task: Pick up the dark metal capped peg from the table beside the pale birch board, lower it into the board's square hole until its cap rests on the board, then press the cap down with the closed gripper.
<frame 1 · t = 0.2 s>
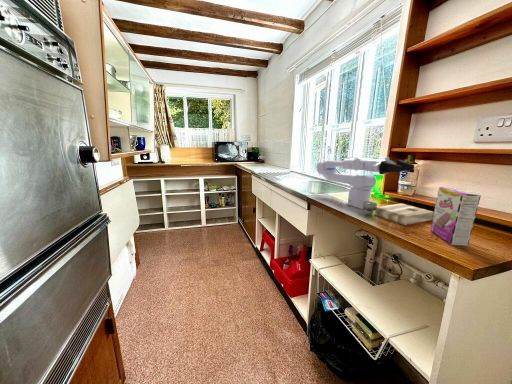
hand: (407, 168, 83), 21 cm above the countertop, tool horizontal, fingers open, 7 cm apart
board: (402, 217, 90), on the countertop
peg: (368, 215, 91), on the countertop
candy bar box: (447, 239, 70), on the countertop
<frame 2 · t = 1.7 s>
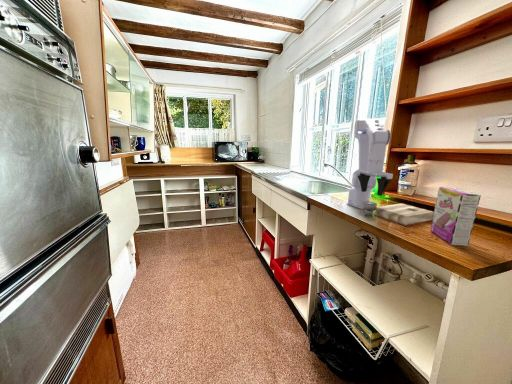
hand: (371, 193, 89), 10 cm above the countertop, tool pointing down, fingers open, 7 cm apart
nothing on the countertop moved.
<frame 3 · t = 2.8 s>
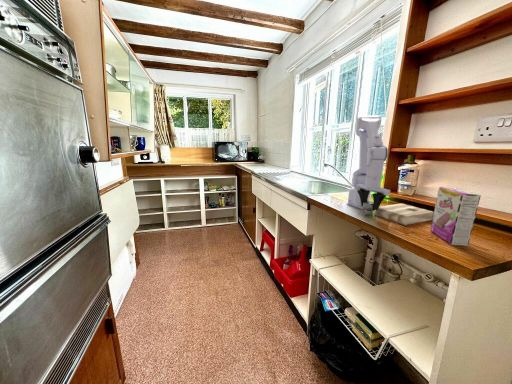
hand: (369, 208, 90), 4 cm above the countertop, tool pointing down, fingers closed on peg, 5 cm apart
peg: (368, 215, 91), on the countertop, touching gripper
everything else where it was.
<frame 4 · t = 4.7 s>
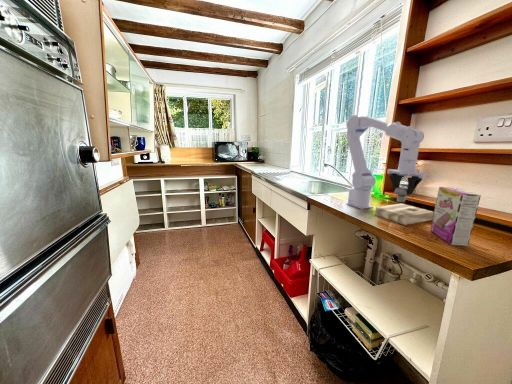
hand: (402, 193, 88), 10 cm above the countertop, tool pointing down, fingers closed on peg, 5 cm apart
peg: (400, 201, 88), point 7 cm above the countertop, touching gripper
everything else where it was.
when the fingers open (5 cm above the countertop, at t = 6.9 s): peg drops 1 cm, resting on board.
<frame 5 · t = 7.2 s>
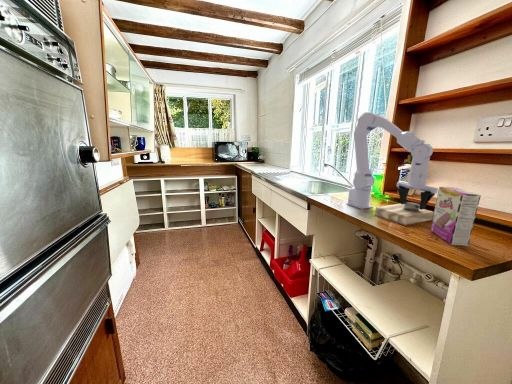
hand: (412, 206, 89), 5 cm above the countertop, tool pointing down, fingers open, 7 cm apart
peg: (409, 217, 89), resting on board
everything else where it was.
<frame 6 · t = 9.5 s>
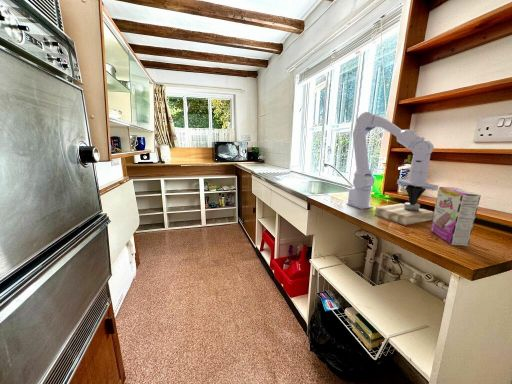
hand: (412, 203, 88), 6 cm above the countertop, tool pointing down, fingers closed, pressing on peg
peg: (409, 217, 89), resting on board, touching gripper
everything else where it was.
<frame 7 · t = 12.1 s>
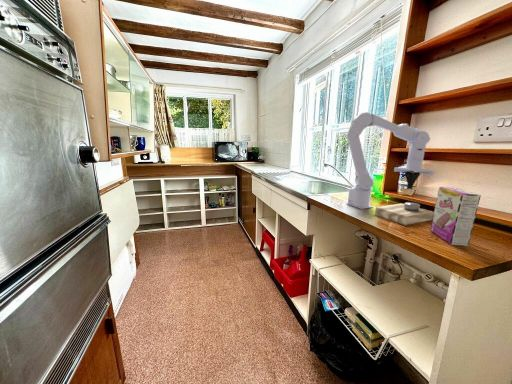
hand: (409, 188, 98), 10 cm above the countertop, tool pointing down, fingers closed
peg: (409, 217, 89), resting on board
everything else where it was.
at the end: peg 0.2 cm from the target spot on the board, point 0.3 cm above the board's base; peg tilted 0°; the gripper is holding nothing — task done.
